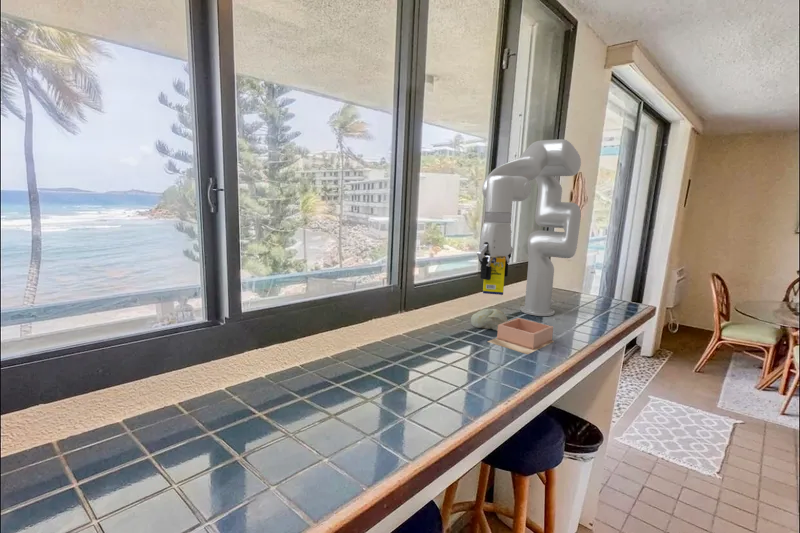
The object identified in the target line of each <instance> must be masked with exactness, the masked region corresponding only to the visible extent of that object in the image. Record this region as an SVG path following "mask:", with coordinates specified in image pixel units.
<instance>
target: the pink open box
mask: <svg viewBox="0 0 800 533" xmlns="http://www.w3.org/2000/svg"><path fill="white" fill-rule="evenodd" d="M553 334H554V326H553V325H548V324H545V323H540V322H537V321H533V320H529V319H525V318H521V317H515V318H514V319H510V320H508V321H507V322H504V323H501V324H499V325H498V331H497V334H496V336H497V337H496V338H497V339H498V340H502V341H505V342H508V343H511V344H515V345H518V346H521V347H524V348H528V349H531V350H534V349H536V348H538V347H540V346H542V345H545V344H547V343H549V342H551V341H553Z"/></svg>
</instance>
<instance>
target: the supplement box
mask: <svg viewBox="0 0 800 533" xmlns="http://www.w3.org/2000/svg"><path fill="white" fill-rule="evenodd" d="M486 260H487V261H488V258H486ZM505 262H506V257H498V258H493V260H492V262H491V264H490V266H491V279H490V280H486V279H483V285H482V294H487V295H500V296H503V295H504V289H505V288H504V287H505V276H504V274H505Z"/></svg>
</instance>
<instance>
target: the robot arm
mask: <svg viewBox="0 0 800 533" xmlns="http://www.w3.org/2000/svg"><path fill="white" fill-rule="evenodd" d="M581 165H582V159H581V155H580V153H579V152H578V150H577V149H576V148H575V146H574V144H572V142H570V141H569V140H567V139H564V138H562V139H561V138H560V139H558V138H557V139H543V140H537V141H533V142H532V143H530V145H529V146H528V147H527V149H526V150H524V152H522V154H521V155H520V156H519V157H518V158H515V159H513V160H511V161H509V162H505V163H504V164H501V165H499V166H497V167H495V168H494V169H492V171H491V172H490V173H488V175H487V176H486V178H485V179H484V182H483V184H482V188H481V189H482V191H481V192H482V195H483V197H484V198H485V213H484V223H483V225H482V228H481V233H480V239H479V248H478V251H477V252H476V255H477V257H478V261H479V265H480V279H481V280H484V279H486V280H490V279H491V266H490V264H491V262H492V260H493V258H498V257H506V262H505V274H504V278H505V277H508V273H509V264H510V262H511V260H510V259H511V257H512V253H513V252H514V248H513V246H512V226H511V224H512V212H513V202H523V201H525V200H527V199H528V198H529V197H530V194H531V192H532V185H531V182H530V181H532V180H535V181H536V182H535V183H536V185H537V198H536V203H535V204H536V206H535V213H534V214H535V215H534V221H535V224H536V225H537V226H539V227H544V228H553V229H563V230H564V231H553V230H543V229H542V230H540V229H539V230H534V231H532V232H531V233H530V234H529V235H528V237H527V256H528V258H527V260H528V261H527V262H528V263H527V273H526V274H527V275H526V276H527V277H526V287H525V288H526V289H525V297H524V305H521V306H520V308H519V309H520V310H519V311H521V312H522V313H524V314H526V315H531V316H536V317H537V316H538V317H551V316H554V314H555V312H556V311H555V310H554V309H553V308H551V306H552V305H553V304H554V303H555V301H554V300H553V299H552V296H553V286H554V285H553V284H554V276H555V267H554V264H553V262H552V261H551V259H550V258H561V259H570V258H573V257H574V256H575V254H576V253H577V248H578V243H579V242H578V241H579V235H580V226H581V218H582V217H581V216H582V215H581V214H582V212H581V208H580V206H579V204H578V203H575V202H570V201H569V202H566V201H562V196H563V195H562V194H563V187H562V184H561V183H560V182H559V180H558V179H557V178H556V177H572V176H573V177H574V176H576V175H577V174H578V173H579V171H580V169H581V167H582V166H581ZM486 258H488V261H487V260H486Z"/></svg>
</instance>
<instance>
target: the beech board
mask: <svg viewBox="0 0 800 533" xmlns="http://www.w3.org/2000/svg"><path fill="white" fill-rule="evenodd" d="M487 343H490V344H492V345H496V346H500V347H503V348H506V349H509V350H511V351H512V350H513V351H515V352H518V353H522V354H524V355H530V354H532V353H534V352H536V351H539V350H540V349H542V348H545V347H547V346H549V345H551V344H552V343H555V341H554V340H552V341H551V342H549V343H547V344H545V345H542V346H540V347H538V348H536V349H534V350H531V349H528V348H524V347H521V346H518V345H515V344H511V343H508V342H505V341H502V340H498V339H497V337H495V338H493V339H490V340H488V341H487Z"/></svg>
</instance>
